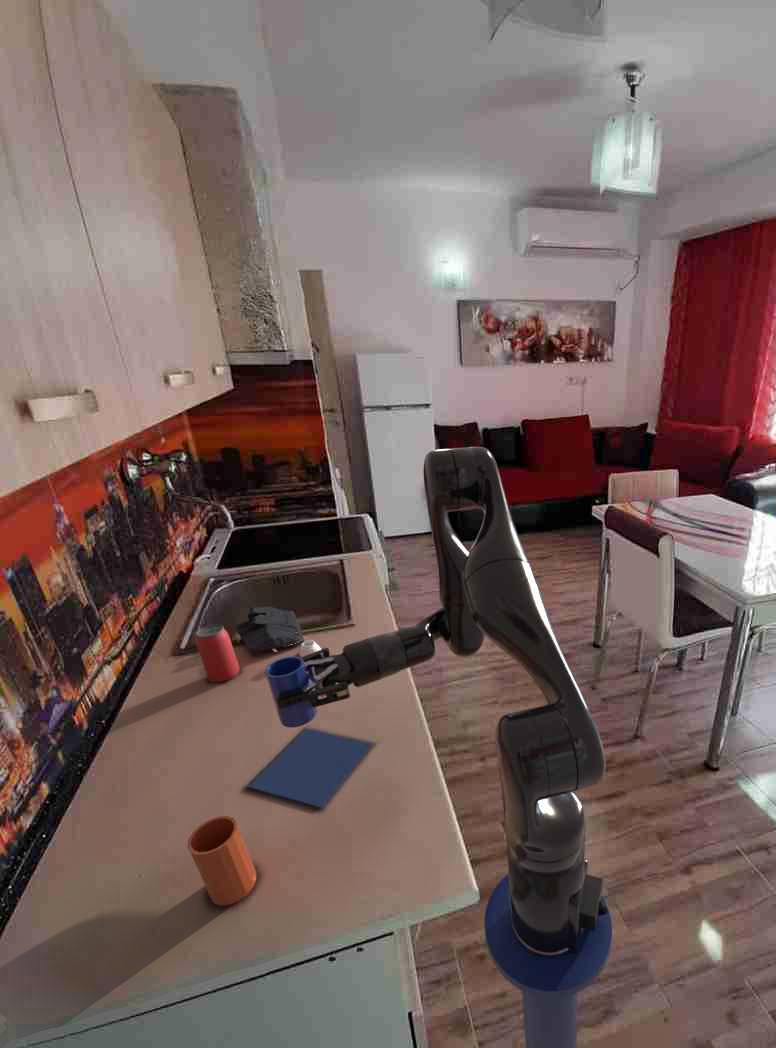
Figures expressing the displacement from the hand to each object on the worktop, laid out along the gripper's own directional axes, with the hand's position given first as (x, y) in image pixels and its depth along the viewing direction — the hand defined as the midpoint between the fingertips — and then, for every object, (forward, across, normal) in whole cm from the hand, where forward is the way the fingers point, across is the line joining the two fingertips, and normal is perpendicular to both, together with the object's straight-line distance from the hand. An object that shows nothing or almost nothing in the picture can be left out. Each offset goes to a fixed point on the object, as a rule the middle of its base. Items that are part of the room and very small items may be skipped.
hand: (275, 692), depth 82 cm
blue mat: (-2, 0, +17) cm, 17 cm away
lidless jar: (-10, -39, +17) cm, 44 cm away
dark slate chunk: (-3, -55, +17) cm, 58 cm away
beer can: (+9, -41, +17) cm, 46 cm away
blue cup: (-2, 0, +6) cm, 6 cm away
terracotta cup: (+12, +17, +17) cm, 27 cm away
